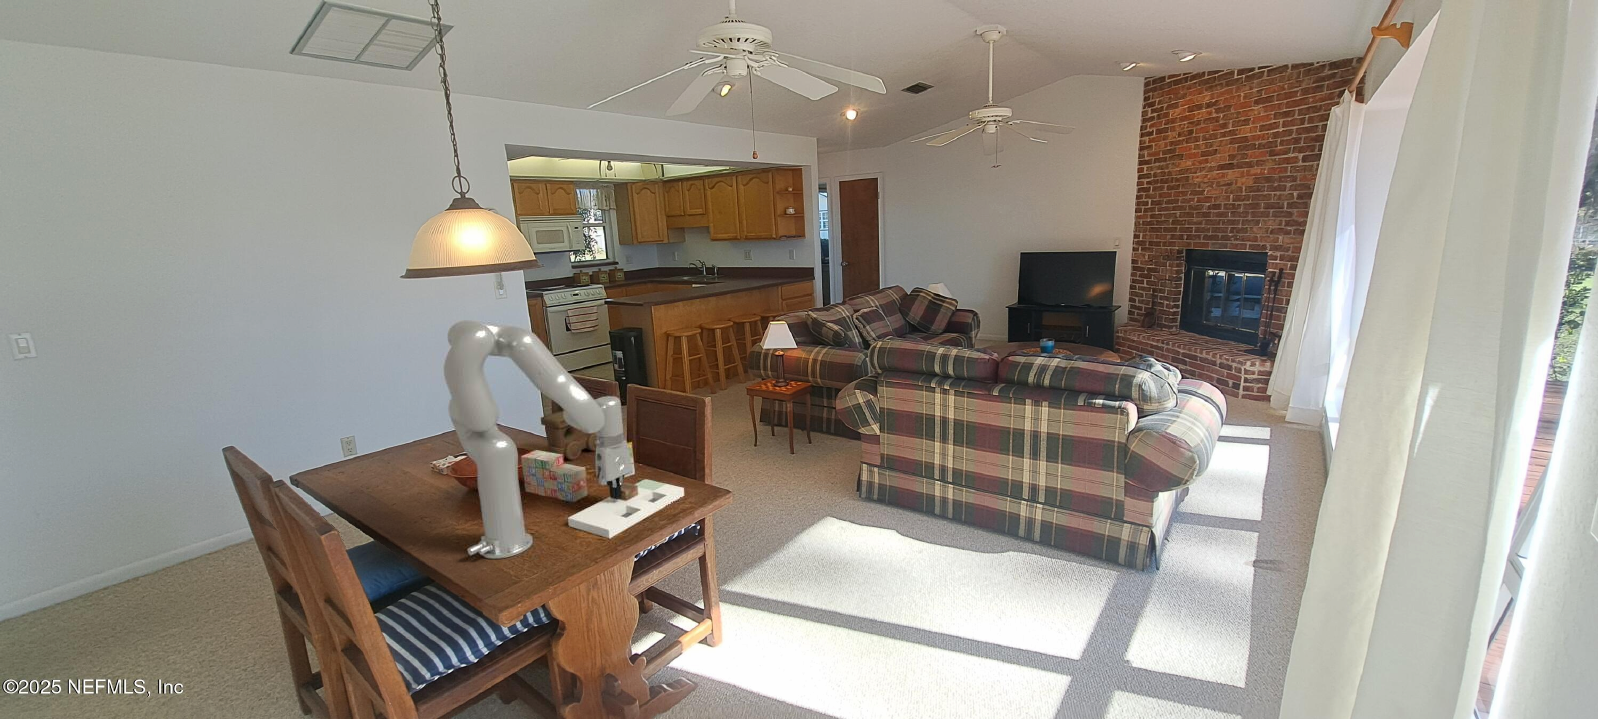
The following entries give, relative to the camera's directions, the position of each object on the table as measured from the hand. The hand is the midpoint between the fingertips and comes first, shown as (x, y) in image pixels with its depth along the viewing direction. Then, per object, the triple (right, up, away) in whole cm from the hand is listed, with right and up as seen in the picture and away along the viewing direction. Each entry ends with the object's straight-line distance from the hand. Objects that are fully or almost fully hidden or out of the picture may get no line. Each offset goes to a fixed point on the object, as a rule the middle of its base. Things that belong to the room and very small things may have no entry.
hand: (616, 497), depth 185 cm
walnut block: (+2, 0, +4) cm, 4 cm away
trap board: (+4, -4, 0) cm, 5 cm away
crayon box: (-5, +1, +26) cm, 27 cm away
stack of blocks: (-23, -2, +14) cm, 27 cm away
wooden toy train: (-30, +5, +50) cm, 58 cm away
